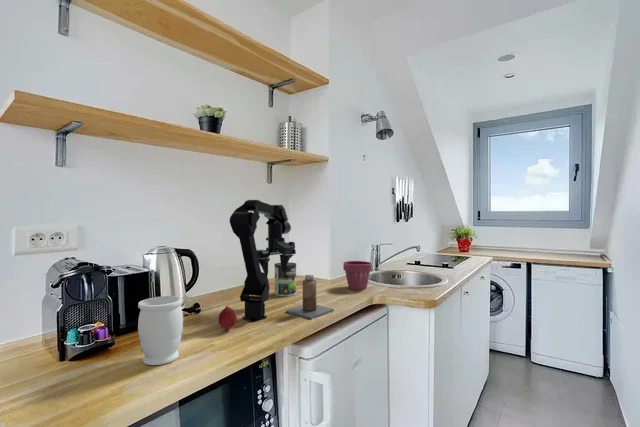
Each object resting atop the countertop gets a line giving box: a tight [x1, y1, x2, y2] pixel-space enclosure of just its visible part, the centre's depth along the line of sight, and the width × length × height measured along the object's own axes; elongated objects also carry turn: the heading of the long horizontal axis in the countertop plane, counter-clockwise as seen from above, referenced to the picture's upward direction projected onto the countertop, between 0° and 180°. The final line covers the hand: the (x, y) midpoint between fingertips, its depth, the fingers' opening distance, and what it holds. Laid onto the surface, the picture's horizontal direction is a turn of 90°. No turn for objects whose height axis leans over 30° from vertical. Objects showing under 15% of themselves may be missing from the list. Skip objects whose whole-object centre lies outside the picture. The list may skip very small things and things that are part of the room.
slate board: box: [285, 304, 335, 320], centre depth 123 cm, size 13×13×1 cm
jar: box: [137, 295, 184, 366], centre depth 83 cm, size 11×10×15 cm
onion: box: [217, 304, 238, 331], centre depth 104 cm, size 6×6×8 cm
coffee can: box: [273, 261, 297, 297], centre depth 152 cm, size 10×10×14 cm
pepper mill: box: [302, 274, 317, 312], centre depth 123 cm, size 5×5×13 cm
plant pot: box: [342, 260, 373, 291], centre depth 164 cm, size 14×14×13 cm
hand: (275, 273), depth 132 cm, fingers open, 9 cm apart
